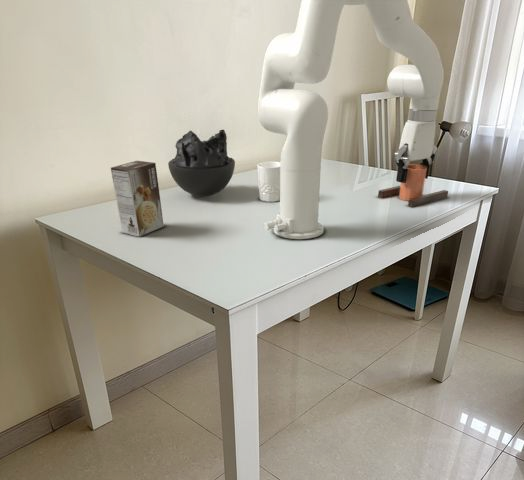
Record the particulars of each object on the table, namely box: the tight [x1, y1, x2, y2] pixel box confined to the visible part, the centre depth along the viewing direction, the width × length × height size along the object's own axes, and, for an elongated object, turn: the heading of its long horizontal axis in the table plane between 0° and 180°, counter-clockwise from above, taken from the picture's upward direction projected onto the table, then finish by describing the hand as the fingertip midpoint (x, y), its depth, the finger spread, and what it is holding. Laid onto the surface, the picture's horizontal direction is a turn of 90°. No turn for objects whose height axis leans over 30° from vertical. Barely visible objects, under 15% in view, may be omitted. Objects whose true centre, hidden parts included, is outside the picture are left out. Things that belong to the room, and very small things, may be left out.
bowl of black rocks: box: [167, 129, 236, 197], centre depth 149 cm, size 20×20×19 cm
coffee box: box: [110, 160, 165, 237], centre depth 123 cm, size 9×6×16 cm
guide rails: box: [377, 185, 449, 208], centre depth 149 cm, size 16×13×2 cm
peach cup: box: [398, 163, 427, 202], centre depth 147 cm, size 7×7×9 cm
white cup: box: [256, 161, 280, 203], centre depth 147 cm, size 8×8×10 cm
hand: (411, 179), depth 146 cm, fingers open, 9 cm apart
